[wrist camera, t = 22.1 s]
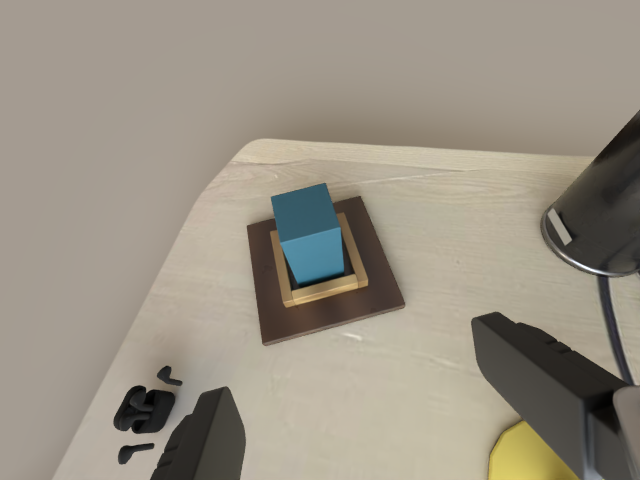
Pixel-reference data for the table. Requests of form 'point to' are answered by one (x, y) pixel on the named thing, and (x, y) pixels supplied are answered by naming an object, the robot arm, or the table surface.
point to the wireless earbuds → (144, 412)
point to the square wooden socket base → (327, 296)
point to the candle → (526, 457)
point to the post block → (309, 234)
